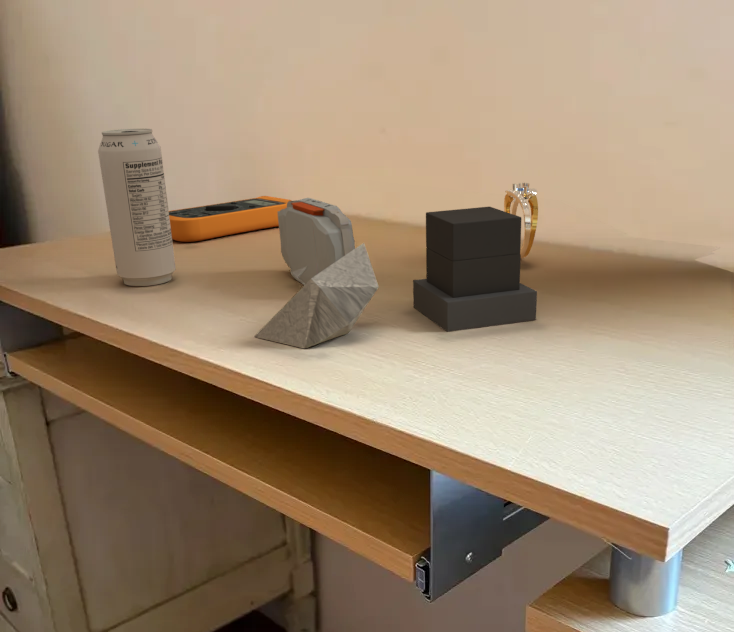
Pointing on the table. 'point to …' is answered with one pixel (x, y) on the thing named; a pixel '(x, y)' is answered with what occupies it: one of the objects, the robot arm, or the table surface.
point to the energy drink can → (137, 206)
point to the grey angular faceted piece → (325, 303)
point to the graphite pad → (473, 233)
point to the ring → (524, 212)
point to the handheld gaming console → (313, 236)
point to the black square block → (473, 274)
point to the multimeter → (225, 218)
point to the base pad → (474, 307)
